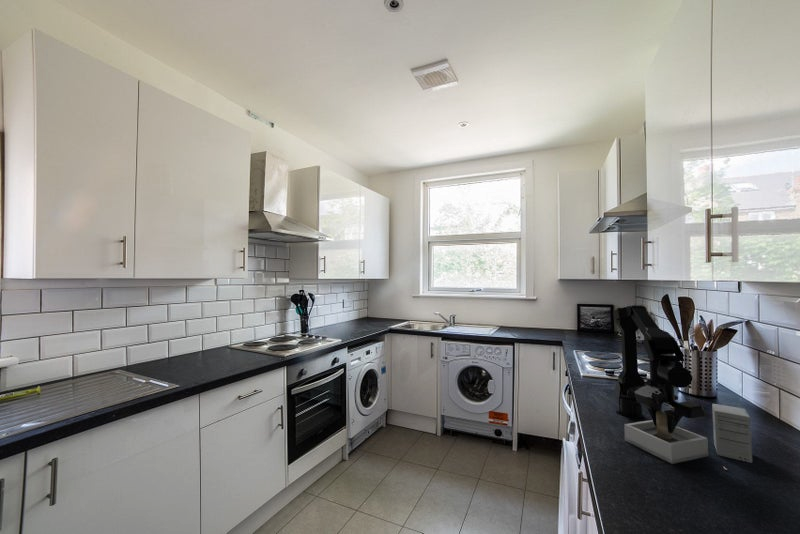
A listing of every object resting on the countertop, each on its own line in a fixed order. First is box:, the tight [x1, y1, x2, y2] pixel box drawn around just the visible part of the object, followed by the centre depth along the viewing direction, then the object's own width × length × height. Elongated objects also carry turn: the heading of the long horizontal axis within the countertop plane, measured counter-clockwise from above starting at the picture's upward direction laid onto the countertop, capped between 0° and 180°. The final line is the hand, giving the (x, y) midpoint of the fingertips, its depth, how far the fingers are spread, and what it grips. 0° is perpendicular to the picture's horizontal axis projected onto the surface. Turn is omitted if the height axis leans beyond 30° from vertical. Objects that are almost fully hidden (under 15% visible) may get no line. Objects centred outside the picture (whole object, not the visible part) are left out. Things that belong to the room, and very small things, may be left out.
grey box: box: [624, 419, 709, 465], centre depth 100 cm, size 14×14×5 cm
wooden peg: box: [656, 410, 672, 440], centre depth 100 cm, size 4×4×7 cm
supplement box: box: [711, 403, 753, 464], centre depth 97 cm, size 7×7×13 cm
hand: (663, 430), depth 100 cm, fingers closed on wooden peg, 3 cm apart
